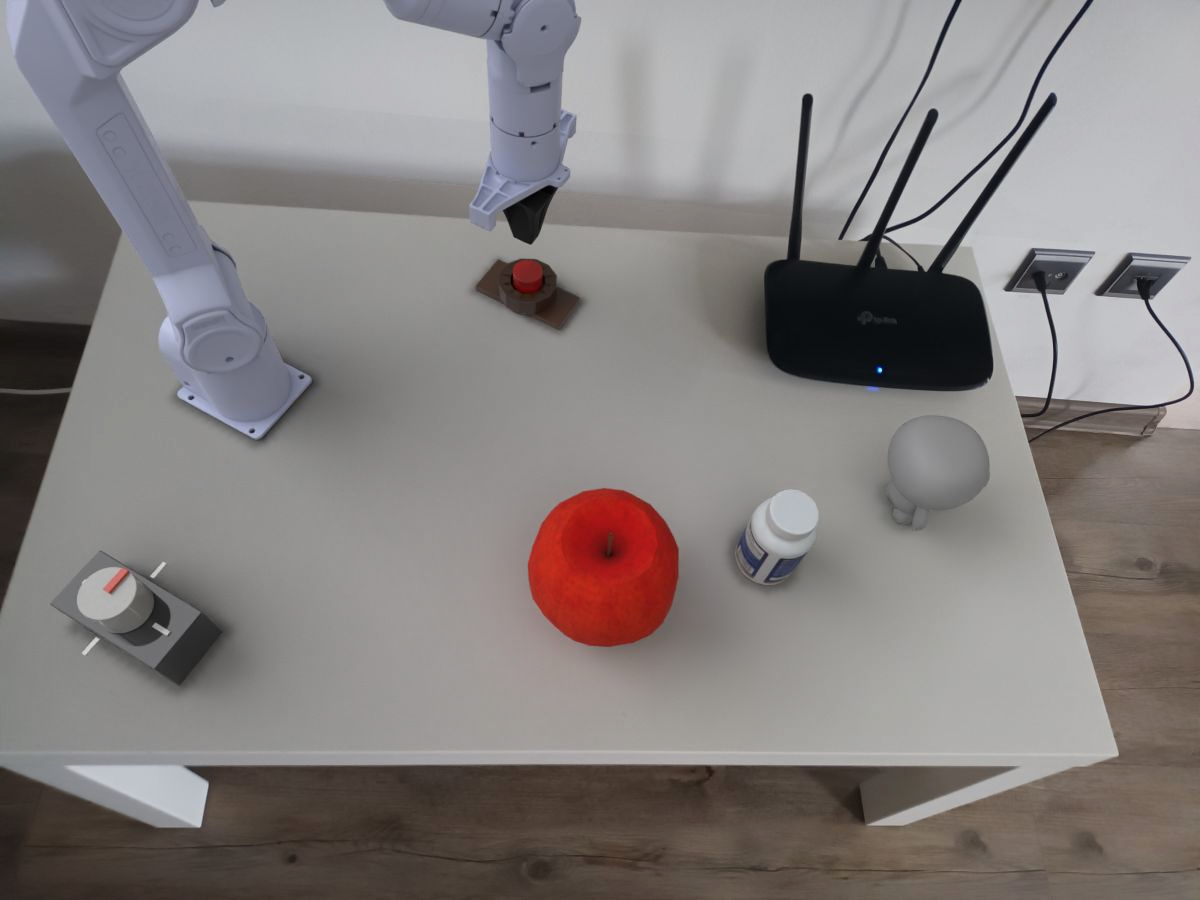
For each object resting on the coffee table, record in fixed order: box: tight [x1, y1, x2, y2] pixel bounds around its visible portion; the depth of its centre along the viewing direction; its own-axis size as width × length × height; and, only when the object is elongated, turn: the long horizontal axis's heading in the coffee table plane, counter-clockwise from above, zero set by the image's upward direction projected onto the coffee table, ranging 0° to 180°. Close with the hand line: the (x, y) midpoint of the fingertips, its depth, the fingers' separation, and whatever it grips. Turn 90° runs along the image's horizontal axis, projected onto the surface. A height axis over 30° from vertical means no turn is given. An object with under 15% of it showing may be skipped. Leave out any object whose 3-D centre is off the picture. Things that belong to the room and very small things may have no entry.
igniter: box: [475, 258, 581, 331], centre depth 84 cm, size 10×6×2 cm, turn 62°
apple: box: [527, 487, 680, 648], centre depth 63 cm, size 12×12×13 cm
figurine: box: [885, 414, 991, 531], centre depth 71 cm, size 8×8×12 cm
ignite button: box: [513, 260, 543, 294], centre depth 83 cm, size 3×3×2 cm
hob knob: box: [77, 567, 154, 633], centre depth 59 cm, size 4×4×4 cm
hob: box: [49, 550, 224, 687], centre depth 63 cm, size 10×8×5 cm
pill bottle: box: [734, 488, 820, 586], centre depth 68 cm, size 5×5×10 cm
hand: (525, 236), depth 77 cm, fingers closed
